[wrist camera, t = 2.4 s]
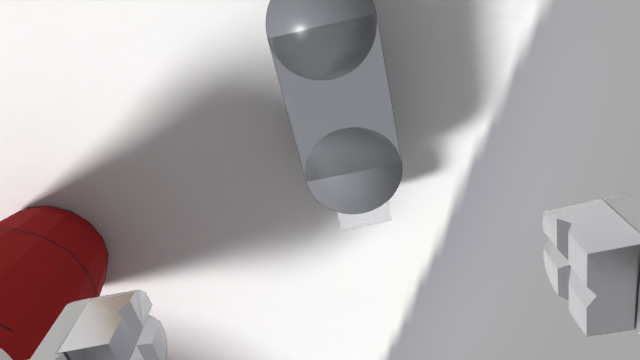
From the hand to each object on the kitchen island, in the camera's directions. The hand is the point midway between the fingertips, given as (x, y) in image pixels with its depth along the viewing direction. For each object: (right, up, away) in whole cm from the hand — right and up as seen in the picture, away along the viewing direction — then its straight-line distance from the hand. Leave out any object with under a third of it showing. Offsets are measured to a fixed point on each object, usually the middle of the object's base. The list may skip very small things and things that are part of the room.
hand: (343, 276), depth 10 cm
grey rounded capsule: (0, +7, +13) cm, 15 cm away
